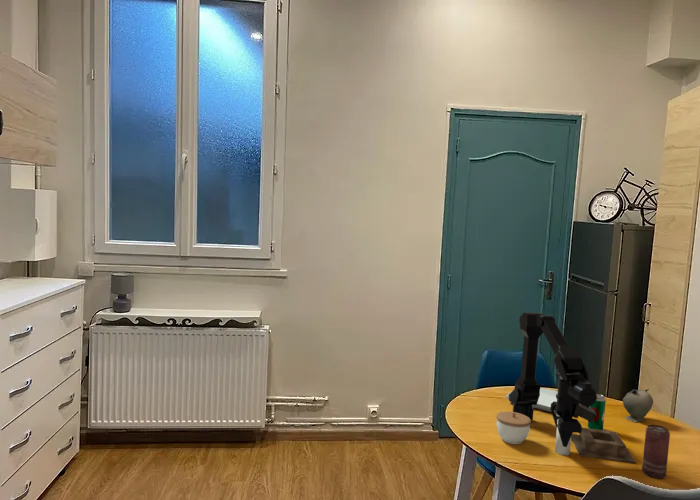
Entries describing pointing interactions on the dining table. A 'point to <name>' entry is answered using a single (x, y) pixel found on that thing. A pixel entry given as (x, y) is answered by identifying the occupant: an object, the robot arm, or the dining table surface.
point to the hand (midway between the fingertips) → (563, 442)
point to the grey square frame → (601, 445)
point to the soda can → (598, 413)
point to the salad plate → (544, 399)
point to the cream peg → (559, 446)
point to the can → (656, 451)
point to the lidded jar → (513, 427)
